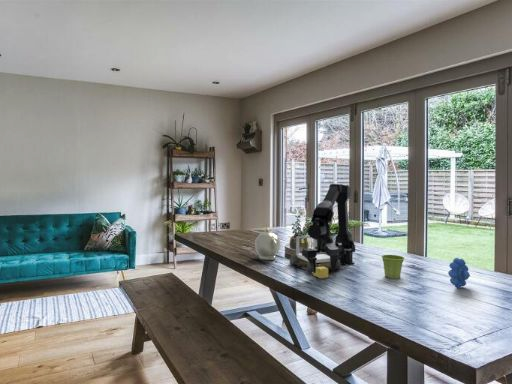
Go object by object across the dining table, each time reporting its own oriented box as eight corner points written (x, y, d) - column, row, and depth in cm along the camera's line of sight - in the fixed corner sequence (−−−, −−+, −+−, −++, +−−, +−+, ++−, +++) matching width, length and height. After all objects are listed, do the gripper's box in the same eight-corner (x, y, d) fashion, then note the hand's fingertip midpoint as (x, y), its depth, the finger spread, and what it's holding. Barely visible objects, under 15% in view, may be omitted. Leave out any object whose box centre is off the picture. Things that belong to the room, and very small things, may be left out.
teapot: (250, 257, 201) (250, 227, 200) (273, 255, 206) (272, 225, 205) (264, 264, 184) (263, 231, 184) (288, 261, 190) (288, 229, 189)
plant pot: (403, 275, 163) (403, 255, 162) (404, 280, 154) (405, 259, 154) (381, 273, 166) (381, 254, 165) (381, 278, 157) (381, 258, 157)
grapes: (461, 293, 136) (461, 261, 136) (443, 289, 142) (444, 258, 141) (477, 288, 142) (478, 257, 142) (460, 284, 148) (460, 254, 148)
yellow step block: (320, 274, 165) (320, 265, 165) (328, 277, 160) (328, 268, 160) (312, 275, 164) (312, 266, 164) (320, 278, 158) (320, 269, 158)
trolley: (290, 263, 185) (290, 235, 184) (316, 261, 191) (316, 233, 190) (312, 273, 166) (312, 242, 165) (340, 270, 172) (340, 239, 171)
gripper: (315, 240, 148) (315, 278, 148) (353, 236, 155) (353, 273, 156) (300, 236, 158) (301, 272, 159) (337, 233, 165) (337, 267, 166)
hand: (323, 271), depth 159 cm, fingers open, 9 cm apart
